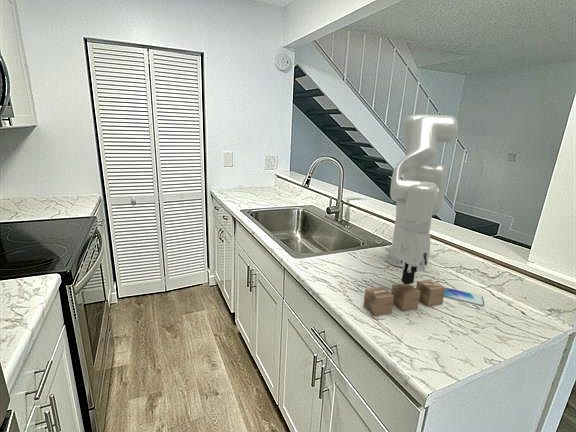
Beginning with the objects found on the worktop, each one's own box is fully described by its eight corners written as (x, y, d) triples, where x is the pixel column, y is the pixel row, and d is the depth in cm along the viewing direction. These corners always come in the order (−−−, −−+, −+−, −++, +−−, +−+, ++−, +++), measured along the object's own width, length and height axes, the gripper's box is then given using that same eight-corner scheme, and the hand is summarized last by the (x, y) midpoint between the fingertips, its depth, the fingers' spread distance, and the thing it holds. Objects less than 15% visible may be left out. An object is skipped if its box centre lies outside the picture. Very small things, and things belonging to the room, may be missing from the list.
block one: (363, 306, 99) (365, 288, 97) (379, 303, 101) (381, 285, 99) (374, 316, 93) (377, 297, 92) (391, 313, 96) (394, 295, 94)
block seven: (414, 297, 106) (417, 280, 104) (428, 295, 108) (431, 278, 106) (427, 307, 100) (431, 289, 99) (442, 304, 102) (445, 286, 101)
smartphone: (484, 305, 102) (434, 293, 108) (484, 308, 102) (433, 295, 109) (483, 295, 108) (435, 284, 115) (482, 298, 108) (435, 286, 115)
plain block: (389, 301, 102) (392, 285, 101) (404, 299, 104) (407, 282, 103) (402, 311, 97) (405, 294, 95) (417, 308, 99) (420, 291, 97)
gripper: (389, 220, 99) (382, 273, 104) (424, 234, 86) (414, 295, 90) (409, 219, 102) (400, 271, 106) (446, 232, 88) (435, 292, 93)
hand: (407, 282), depth 98 cm, fingers closed
